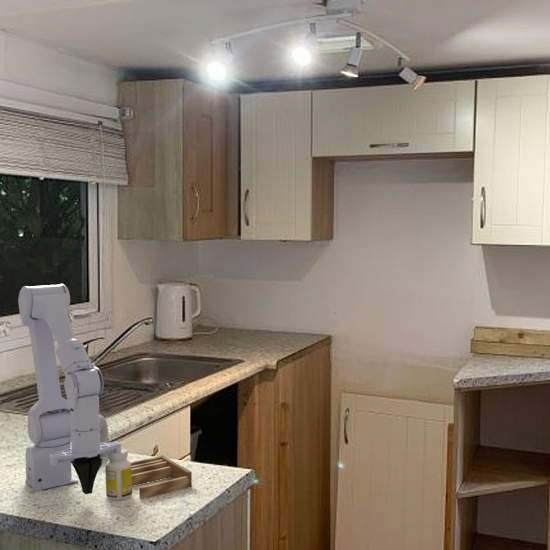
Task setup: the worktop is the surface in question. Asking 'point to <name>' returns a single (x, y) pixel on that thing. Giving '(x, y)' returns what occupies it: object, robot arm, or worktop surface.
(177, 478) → the wooden slatted frame
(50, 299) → the robot arm
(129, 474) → the supplement bottle
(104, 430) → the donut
